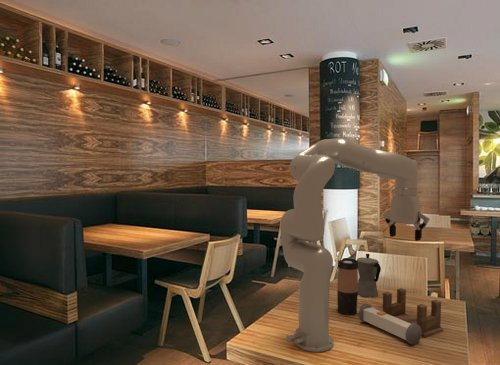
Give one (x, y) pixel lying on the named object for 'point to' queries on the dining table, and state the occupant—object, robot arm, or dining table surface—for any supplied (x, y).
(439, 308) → the walnut rack
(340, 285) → the travel mug
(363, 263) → the coffeepot
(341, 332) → the dining table surface
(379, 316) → the white bar grey caps
